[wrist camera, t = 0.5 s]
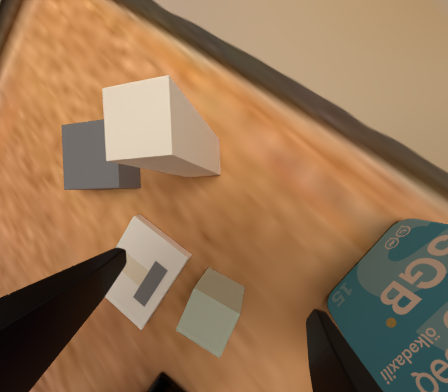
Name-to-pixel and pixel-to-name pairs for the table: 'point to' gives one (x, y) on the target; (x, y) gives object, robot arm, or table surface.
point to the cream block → (158, 129)
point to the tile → (146, 270)
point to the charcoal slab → (93, 160)
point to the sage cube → (212, 311)
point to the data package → (399, 308)
